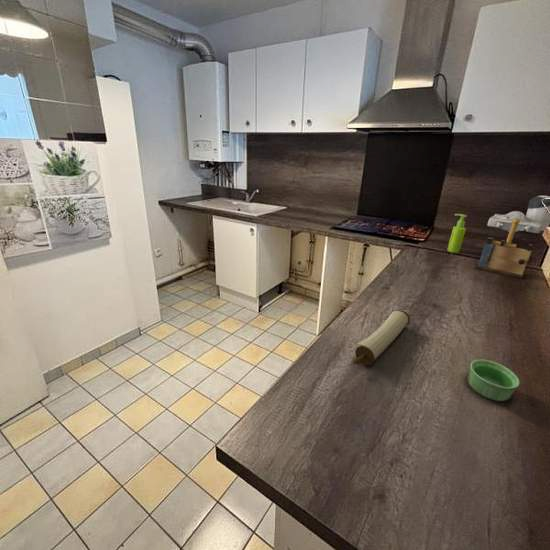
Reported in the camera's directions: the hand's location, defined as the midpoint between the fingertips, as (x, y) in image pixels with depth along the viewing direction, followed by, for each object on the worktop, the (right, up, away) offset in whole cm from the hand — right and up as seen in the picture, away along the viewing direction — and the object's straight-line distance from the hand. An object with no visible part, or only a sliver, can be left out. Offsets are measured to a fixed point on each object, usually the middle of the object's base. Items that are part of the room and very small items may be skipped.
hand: (512, 227), depth 134 cm
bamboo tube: (-80, -41, -53) cm, 105 cm away
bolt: (-9, -8, -5) cm, 13 cm away
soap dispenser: (-13, -9, +26) cm, 30 cm away
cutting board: (-7, -20, -1) cm, 22 cm away
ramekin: (-62, -48, -68) cm, 104 cm away
